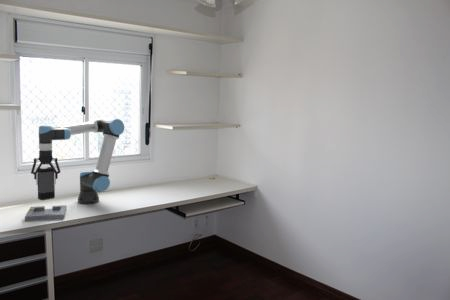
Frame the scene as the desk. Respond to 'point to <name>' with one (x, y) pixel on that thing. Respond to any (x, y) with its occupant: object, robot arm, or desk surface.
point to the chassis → (45, 213)
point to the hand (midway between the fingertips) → (46, 184)
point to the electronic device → (46, 184)
